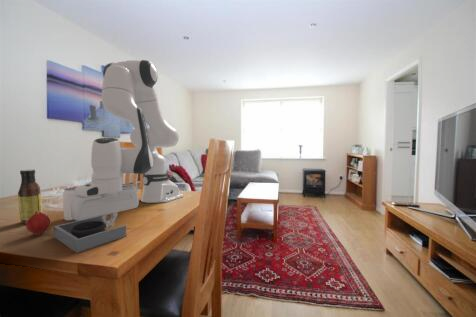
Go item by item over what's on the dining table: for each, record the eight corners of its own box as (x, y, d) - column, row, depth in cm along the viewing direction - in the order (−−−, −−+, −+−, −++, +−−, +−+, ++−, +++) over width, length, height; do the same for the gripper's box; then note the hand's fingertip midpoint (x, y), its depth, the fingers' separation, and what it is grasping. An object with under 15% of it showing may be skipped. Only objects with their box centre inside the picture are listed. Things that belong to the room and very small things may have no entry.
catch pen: (100, 224, 81) (100, 215, 81) (126, 236, 71) (126, 225, 71) (54, 237, 70) (53, 226, 70) (76, 252, 60) (76, 240, 60)
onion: (30, 233, 73) (29, 209, 72) (52, 230, 75) (51, 207, 75) (24, 240, 67) (22, 214, 67) (48, 236, 70) (47, 211, 70)
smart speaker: (108, 230, 76) (107, 219, 75) (101, 241, 67) (100, 228, 67) (77, 233, 73) (77, 221, 73) (66, 245, 64) (65, 231, 64)
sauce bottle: (32, 218, 87) (30, 168, 86) (47, 219, 86) (45, 168, 85) (14, 224, 80) (11, 170, 79) (29, 225, 80) (27, 170, 79)
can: (73, 221, 84) (72, 190, 83) (59, 220, 85) (58, 189, 85) (88, 216, 90) (87, 187, 90) (74, 215, 92) (73, 186, 91)
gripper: (132, 181, 84) (133, 216, 85) (68, 189, 67) (69, 234, 68) (141, 182, 81) (142, 220, 81) (76, 192, 64) (78, 239, 65)
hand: (108, 226), depth 75 cm, fingers closed
